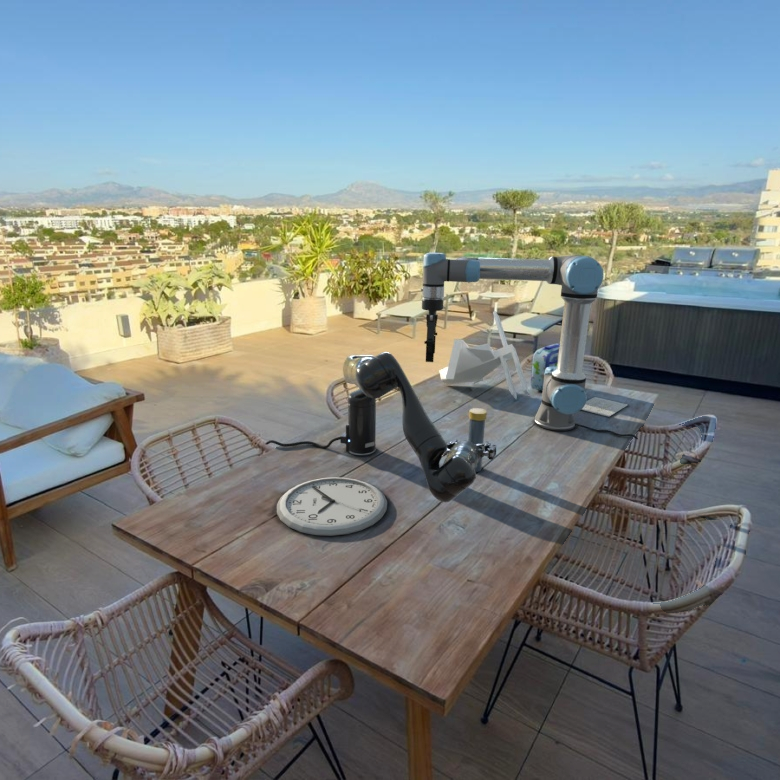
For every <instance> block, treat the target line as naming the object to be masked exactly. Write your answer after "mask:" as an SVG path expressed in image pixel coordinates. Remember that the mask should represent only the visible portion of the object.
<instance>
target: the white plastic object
mask: <svg viewBox="0 0 780 780" xmlns="http://www.w3.org/2000/svg"><path fill="white" fill-rule="evenodd" d="M492 315H493V319H494V321H495V324H496V325H495V326H496V328H497V332H498V335H499V338H500V342H501V345H502V347H500V348H498V349H496V350H495V349H493V348H492V347H491V346H490V344H489V343H488V342H487V343H483V344H479V345H473V346H469V345H468V343H466V342H465V340H464V339H463V338H460V339H458V338H454V340H453V344H452V349H451V353H450V357H449V362H448V366H446V367H444V368H442V369H440V370H439V371H438V372H439V376H440V381H442V383H443V384H444V385H445V386H449V385H458V384H467V383H468V384H469V383H473V384H477V383H480V382H482V381H484V378H485V377H486V376H487V375H489V374H490V373H492V372H494V371H495V370H496V369H497V368H499V367H500V366H502V370H503V373H504V376H505V380H506V383H507V386H508V390H509V393H510V394H511V395H512V397H513V398H514V399H515V400H517V392H516V391H517V390H516V388H515V385H514V381H513V378H512V375H511V371H510V369H509V365H508V361H510V360H513V363H514V366H515V369H516V372H517V376H518V380H519V382H520V385H521V389H522V391H523V393H524V395H525V396H526V397H528V396H531V395H530V390H529V388H528V387H529V386H528V384H527V381H526V378H525V375H524V371H523V369H522V368H523V367H522V366H521V362H520V359H519V355H518V352H517V349H516V347H515V346H514V345H513V343H511V344H508V341H507V337H506V334H505V331H504V328H503V325H502V321H501V318H500V315H499V314H498V312H497V311H496V310H495V311H492Z"/></svg>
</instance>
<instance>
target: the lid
mask: <svg viewBox="0 0 780 780" xmlns="http://www.w3.org/2000/svg"><path fill="white" fill-rule="evenodd" d="M487 415H488V411H487V410H486V409H483V408H478V407H473V408H470V409H469V410H468V418H469V420H470V419H472V420H476V421H483V420H485V421H486V419H487Z"/></svg>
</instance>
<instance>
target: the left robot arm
mask: <svg viewBox="0 0 780 780" xmlns="http://www.w3.org/2000/svg"><path fill="white" fill-rule="evenodd" d="M342 373H343V374H342V375H343V377H344V380H345V382H346V383H347V384H350V385H355V386H356V387H358V389H356V390H354V391H352V392H350V393H349V394H348V396H347V424H346V425H345V431H344V432H343V433H342V434H341V435H340V436H337V437H333V438H332V439H330V440H329V441H328V443H327V444H325V445H322V444H319V443H317V442H314V441H311V440H310V441H309V440H305V441H298V442H297V441H296V442H290V443H282V442H279V441H277V440H274V439H269V440H267V441H266V442H265V443H264V445H266V446H268V445H270V444H274V445H277V446H279V447H294V446H295V447H296V446H299V445H300V446H301V445H312V446H314V447H317V448H320V449H329V448H330V446H332V444H333V443H334V442H336V441H339V442H340V444H344V445H345V452H346V453H348V454H350V455H352V456H357V457H368V456H370V455H371V456H372V455H373V454H375V453H376V449H377V447H376V445H377V443H376V436H377V435H376V434H377V431H376V428H377V427H376V425H377V423H376V421H377V418H376V417H377V399H379V398H382V397H383V396H385V395H387V394H388V393H390V392H392V391H393V390H395V389H396V388H398V390H399V392H400V395H401V399H402V416H401V417H402V418H401V419H402V422H401V423H402V432H403V435H404V437H405V440H406V441H407V442H408V444H409V446H410V447H411V449H412V451H413V452H414V453H415V455H416V456H417V458H418V460H419V462H420V465H421V469H422V471H423V474H424V479H425V481H426V484H427V487H428V490H429V492H430V494H431V495H432V496H433V497H434V498H435V500H437V501H439V502H441V503H450V502H451V501H453V500H454V499H456V497H458V496H459V495H460V494H461V493H463V492H464V491H465V490H466V489H468V488H469V487H470V486H472V484H474V482H475V481H476V479H477V472H475V469H476V467H477V466H478V462H479V460H480V458H482V459H483V458H484V457H487V458H488V460H490V461H492V460H494V459H495V457H496V455H497V445H496V444H491V442H490V441H484V443H483V444H480V443H479V444H474V443H472V442H470V441H468V440H460V441H458V439H454V440H452V441H450V442H449V443H448V442H446V440H445V439H444V438H443V437H442V435H441V433H440V432H439V431H438V429H437V427H436V426H435V425H434V423H433V422H432V420H431V419H430V418H429V416H428V414H427V412H426V409H424V407H423V405H422V402H421V400H420V399H419V397H418V395H417V393H416V390H415V389H414V387H413V385H412V383H411V382H410V380H409V378H408V377H407V375H406V373H405V371H404V369H403V367H402V366H401V365H400V363H399V361H398V359H396V357H395V356H394V354H392V353H390V352H388V351H382V352H381V353H379V354H377V355H372V354H361V355H360V354H359V355H357V354H356V355H354V354H353V355H348V356H346V357H345V359H344V361H343V364H342ZM478 447H479V448H478ZM444 457H446V458H445V459H444V461H443V463H442V465H441V466H440V463H441V460H442V458H444Z"/></svg>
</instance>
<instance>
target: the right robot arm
mask: <svg viewBox="0 0 780 780" xmlns="http://www.w3.org/2000/svg"><path fill="white" fill-rule="evenodd" d="M422 264H423V265H422V288H420V292H421V293H422V294H421V296H422V299H421V309H422V310H423V311H428V313H426V316H425V320H426V340H424V342H423V343H424V344H425V362H426V363H434V359H435V357H434V356H435V353H436V338H437V337H436V336H438V332H437V329H436V328H437V324H438V318H439V315H438V314H437V311H438V312H439V311H442V310H444V299H443V298H444V297H445V282H447V283H449V282H452V283H453V282H457V283H468V284H470V283H477V282H479V281H480V280H495V281H497V280H499V281H500V280H501V281H526V282H527V281H531V282H546V283H547V284H548V285H557V286H561V289H560V298H561V299H562V300H563V303H564V305H563V313H562V322H561V330H560V339H559V344H560V346H559V355H558V364H557V366H553V367H547V368H546V369H545V373H544V382H543V390H542V394H541V402H540V405H539V407H538V410H537V411H536V413H535V417H534V424H535V425H536V426H537V427H539V428H542V429H544V430H549V431H556V432H567V431H572V430H574V429H575V428H576V426H577V427H579V428H580V427H581V428H583V429H587V430H590V431H594V432H601V433H610V434H613V435H615V436H618V437H632V438H634V439H635V440H639V438H638V436H636V435H635V434H631V433H624V434H621V433H618V432H615V431H613V430H610V429H598V428H593V427H591V426H586V425H583V424H579V423H576V418H575V417H576V416H575V414H576V413H579V412H580V411H582V410H581V409H582V408H583V407H584V406H585V404H586V401H588V397H587V392H586V389H585V388H586V383H587V382H586V381H587V375H586V374H585V373H584V371H583V369H584V361H585V355H586V347H587V339H588V338H587V337H588V330H589V324H590V318H591V317H590V316H591V308H592V303H593V302H594V301H596V300H597V298H598V294H599V293H598V291H599V288H601V285H602V284H603V281H604V269H603V267H602V265H601V264H600V262H599V261H597V260H596V259H595V258H594V257H592V256H587V255H581V254H574V255H573V254H572V255H565V256H551V257H549V258H548V259H545V258H544V259H543V258H542V259H541V258H540V259H539V258H501V257H500V258H497V257H496V258H495V257H494V258H492V257H466V256H460V257H457V258H455V259H451V258H449V259H448V258H447V257H446V253H444V252H427V253H425V254H424V255H423V263H422Z"/></svg>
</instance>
